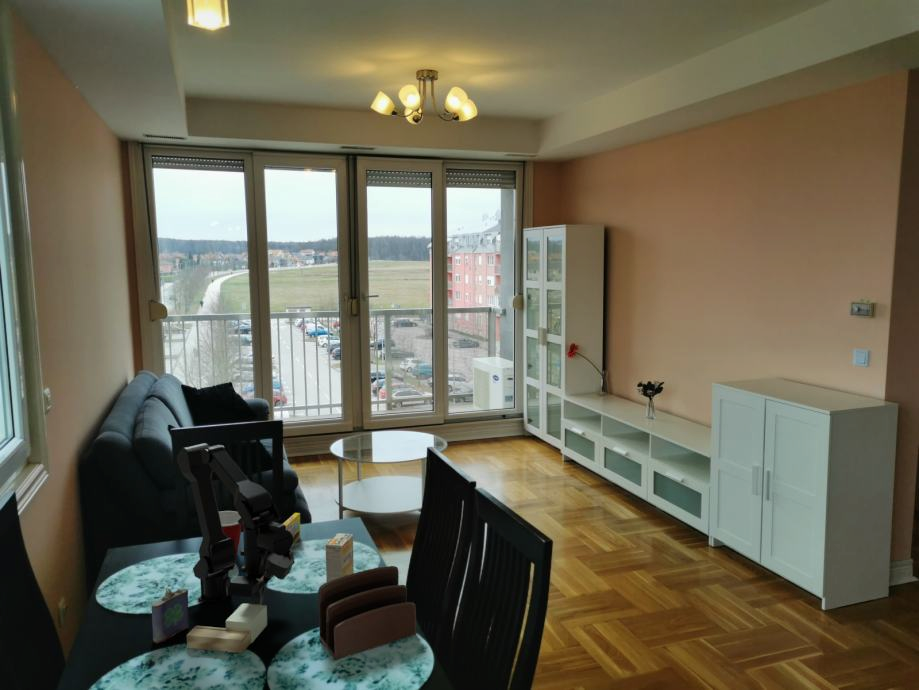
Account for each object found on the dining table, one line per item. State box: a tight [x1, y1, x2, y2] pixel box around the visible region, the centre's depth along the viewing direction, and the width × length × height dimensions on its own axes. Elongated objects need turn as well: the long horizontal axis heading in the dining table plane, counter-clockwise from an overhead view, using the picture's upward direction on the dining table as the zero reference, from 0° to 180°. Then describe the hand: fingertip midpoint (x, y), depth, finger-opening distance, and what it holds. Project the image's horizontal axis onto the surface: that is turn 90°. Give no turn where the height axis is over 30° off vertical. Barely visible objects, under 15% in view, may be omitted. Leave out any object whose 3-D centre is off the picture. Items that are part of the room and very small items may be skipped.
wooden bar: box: [186, 625, 252, 654], centre depth 151 cm, size 13×4×3 cm, turn 81°
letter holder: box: [317, 565, 417, 661], centre depth 154 cm, size 10×20×14 cm, turn 121°
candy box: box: [282, 512, 301, 545], centre depth 202 cm, size 16×2×8 cm, turn 171°
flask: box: [150, 587, 190, 644], centre depth 155 cm, size 9×3×11 cm, turn 151°
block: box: [225, 603, 268, 644], centre depth 156 cm, size 6×8×5 cm
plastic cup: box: [219, 510, 243, 555], centre depth 197 cm, size 11×11×12 cm
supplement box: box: [325, 532, 355, 583], centre depth 178 cm, size 8×5×13 cm, turn 168°
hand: (258, 606), depth 163 cm, fingers closed
